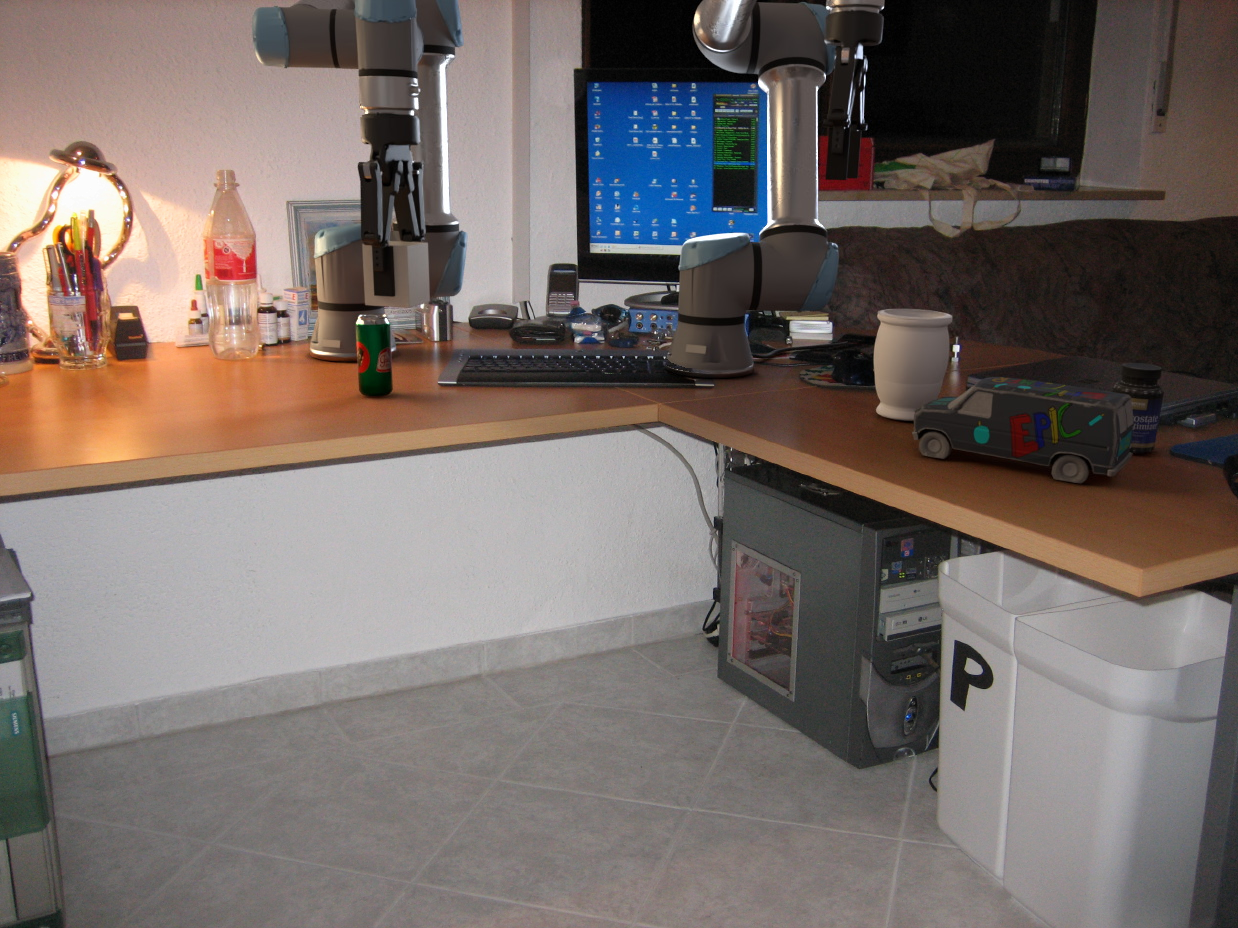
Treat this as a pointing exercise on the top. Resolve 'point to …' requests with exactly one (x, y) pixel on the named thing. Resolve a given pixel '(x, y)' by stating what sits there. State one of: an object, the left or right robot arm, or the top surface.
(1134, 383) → the pill bottle
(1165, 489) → the top surface
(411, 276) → the block
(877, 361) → the jar
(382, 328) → the soda can
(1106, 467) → the toy van
